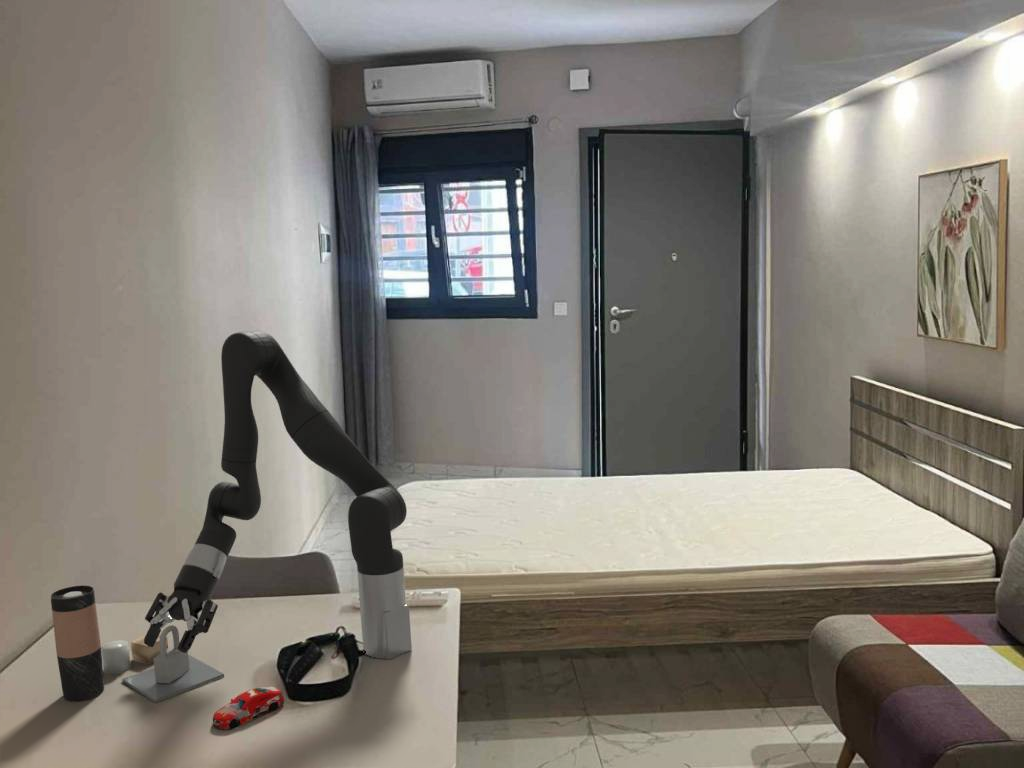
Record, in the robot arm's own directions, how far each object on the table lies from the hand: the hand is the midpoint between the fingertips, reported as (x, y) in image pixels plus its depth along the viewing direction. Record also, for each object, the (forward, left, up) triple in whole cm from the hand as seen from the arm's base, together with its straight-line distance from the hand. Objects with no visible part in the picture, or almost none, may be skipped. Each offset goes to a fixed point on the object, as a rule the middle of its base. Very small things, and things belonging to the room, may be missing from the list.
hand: (164, 648), depth 187 cm
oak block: (+14, -3, -7) cm, 16 cm away
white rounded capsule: (+14, +4, -7) cm, 16 cm away
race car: (-25, -3, -7) cm, 26 cm away
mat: (0, -1, -7) cm, 7 cm away
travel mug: (+8, +13, -7) cm, 17 cm away
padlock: (+1, -1, -6) cm, 7 cm away
